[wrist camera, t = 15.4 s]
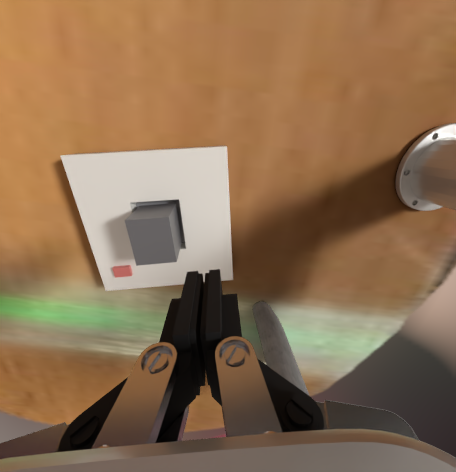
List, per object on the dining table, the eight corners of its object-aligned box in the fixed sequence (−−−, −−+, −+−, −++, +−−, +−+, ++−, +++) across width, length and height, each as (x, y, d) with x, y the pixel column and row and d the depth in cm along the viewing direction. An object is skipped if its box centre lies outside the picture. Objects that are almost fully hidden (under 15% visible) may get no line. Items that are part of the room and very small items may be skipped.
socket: (225, 145, 30) (227, 146, 27) (231, 269, 39) (233, 282, 35) (74, 153, 29) (57, 156, 26) (113, 279, 37) (104, 293, 34)
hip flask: (250, 305, 42) (281, 433, 24) (269, 297, 42) (317, 421, 24) (276, 356, 49) (317, 487, 30) (294, 349, 48) (346, 478, 30)
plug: (176, 200, 32) (168, 217, 26) (182, 238, 35) (176, 262, 28) (141, 203, 32) (124, 220, 25) (150, 241, 34) (136, 265, 28)
